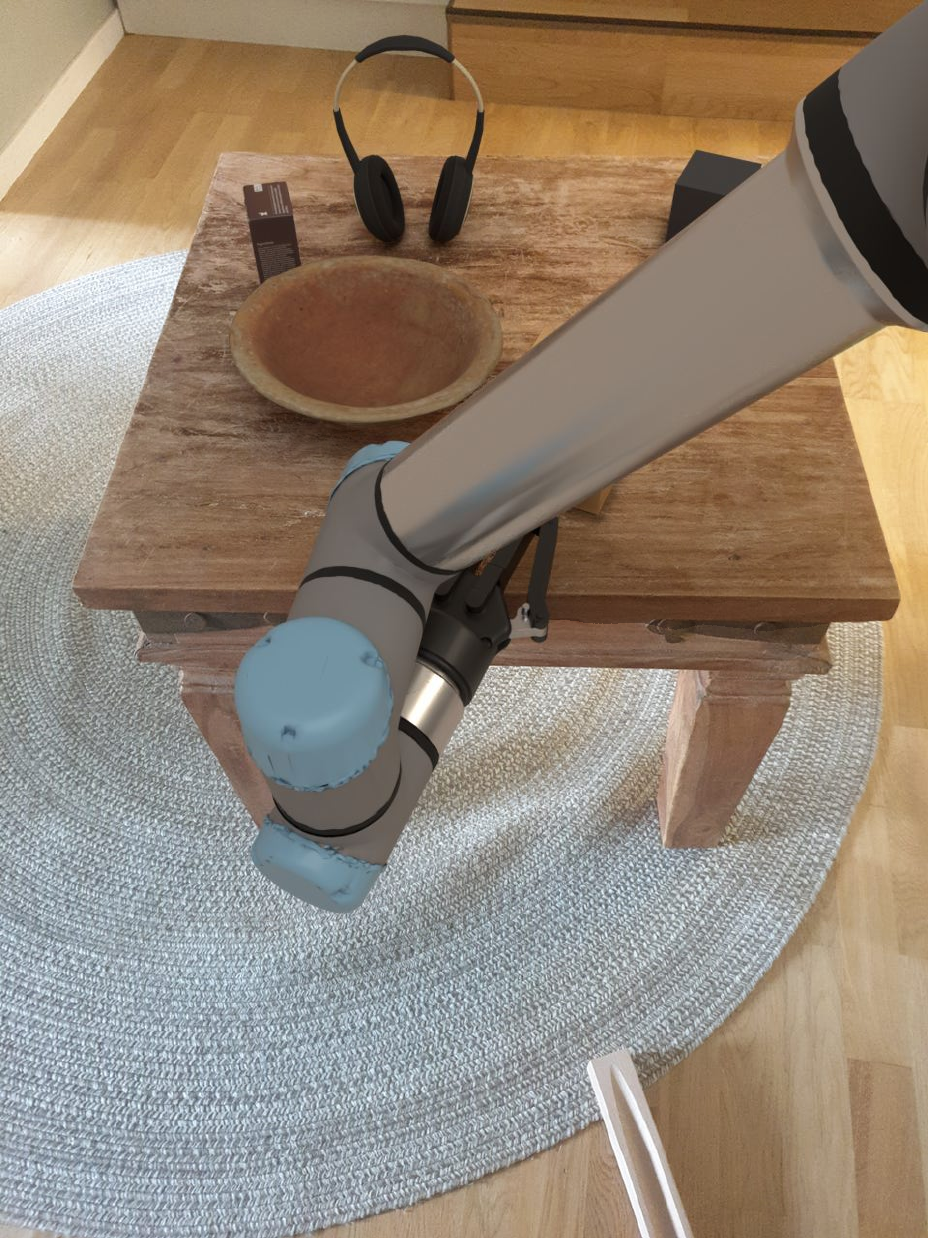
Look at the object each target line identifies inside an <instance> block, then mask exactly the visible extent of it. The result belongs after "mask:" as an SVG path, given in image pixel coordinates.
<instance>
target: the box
mask: <svg viewBox="0 0 928 1238" xmlns="http://www.w3.org/2000/svg"><path fill="white" fill-rule="evenodd" d="M242 194H243V198H244V199H243V203H244V206H245V212H246V217H247V223H248V227H249V233H250V238H251V240H250V241H251V244H252V249H253V255H254V260H255V265H256V268H257V269H256V270H257V274H258V280H259V286H260V285H261V284H262V283H263V282H264V281H266V280H267V279H268V278H270V277H273V276H277V275H279V274H281V273H283V272H285V271H288V270H290V269H292V268H295V267H298V266H301V265H302V261H301V255H300V249H299V243H298V237H297V231H296V230H297V229H296V223H295V218H294V211H293V209H294V208H293V204H292V201H291V196H290V191H289V187H288V183H287V181H285V180H284V181H273V182H272V181H271V182H263V183H254V184H247V185H246V184H245V185H243V186H242Z"/></svg>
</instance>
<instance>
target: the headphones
mask: <svg viewBox="0 0 928 1238" xmlns="http://www.w3.org/2000/svg"><path fill="white" fill-rule="evenodd" d="M386 52H420V53H421V52H422V53H425V54H428V55H432V56H435V57H437V58H440V59H441V60H444V61H446V62H447V63H448V64H452V65H453V66H454V67H455V68H457V70H458V71H460V72H461V73H462V75H463V76H464V77H465V78H466V80H467V81H468V83H469V85H470V86H471V88H472V90H473V92H474V94H475V97H476V100H477V110H476V115H475V116H476V117H475V125H474V132H473V136H472V140H471V143H470V146H469V148H468V151H467V154H466V156H465V157H466V158H465V157H462V156H460V155H456V154H455V155H450V156H447V158H446V160H445V161H444V164H443V166H442V169H441V172H440V173H439V178H438V180H437V186H436V187H435V192H434V197H433V201H432V206H431V210H430V215H429V221H428V232H427V233H428V236H429V238H430V239H431V240H432V241H433V242H434V243H437V244H442V245H443V244H447V243H449V242H450V241H452V240H453V239H455V238H456V237H457V236H460V234H461V232H462V230H463V228H464V225H465V224H466V223H465V222H466V220H467V217H468V213H469V211H470V207H471V204H472V203H471V202H472V198H473V193H474V187H475V184H474V183H475V174H474V170H475V169H474V168H475V165H476V161H477V158H478V155H479V151H480V147H481V143H482V139H483V135H484V127H485V113H486V112H485V111H486V110H485V109H484V102H483V97H482V94H481V92H480V89H479V86H478V85H477V83H476V81H475V79H474V78H473V76H472V75H471V73H470V72H469V71H468V70H467V68H466V67H464V65H462V63H460V61H458V60H457V59H456V56H455V55H454V54H452V52H450V51H449V50H448V49H447V48H445V47H444V46H442V45H441V44H439V43H436V42H434V41H432V40H430V39H428V38H426V37H422V36H417V35H410V34H400V35H399V34H398V35H391V36H387V37H383V38H380V39H377V40H376V41H373V42H372V43H369V44H368V45H366V46H365V47H364V48H363V49H362V50H360V52H358V53H357V54H356V55H355V56H354V59H353V60H352V61H351V62H350V64H349V65H348V66H347V67H346V68H345V70H344V71H343V73H342V74H341V76H340V77H339V80H338V82H337V85H336V87H335V92H334V96H333V109H332V114H333V118H334V123H335V127H336V128H335V129H336V132H337V135H338V137H339V140H340V143H341V146H342V148H343V151H344V154H345V156H346V158H347V161H348V163H349V166H350V168H351V170H352V172H353V176H352V183H351V184H352V194H353V199H354V203H355V206H356V211H357V213H358V216H359V218H360V220H361V223H362V224H363V227H364V228H365V230H366V231H367V232H368V233H369V234H370V235H372V236H373V237H374V238H376V239H377V240H378V241H380V242H382V243H383V244H391V243H394V242H397V241H399V239H401V238H402V237H403V235H404V232H405V230H406V215H405V208H404V202H403V197H402V195H401V190H400V188H399V185H398V182H397V179H396V176H395V174H394V172H393V171H392V168H391V167H390V164H389V163H388V162H387V161H386V159H385V158H383V157H382V156H381V155H378V154H370V155H367V156H364V157H363V158H361V159H360V158H359V156H358V153H357V152H356V149H355V147H354V145H353V144H352V141H351V139H350V137H349V135H348V131H347V129H346V126H345V123H344V118H343V113H342V109H341V107H340V104H339V103H340V102H339V100H340V95H341V90H342V87H343V85H344V83H345V81H346V79H347V78H348V75H349V74H350V73H351V72H352V70H353V69H355V67H356V66H358V64H362V63H363V62H364V61H365V60H368V59H369V58H371V57H374V56H376V55H380V54H383V53H386Z"/></svg>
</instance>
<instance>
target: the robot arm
mask: <svg viewBox="0 0 928 1238" xmlns="http://www.w3.org/2000/svg"><path fill="white" fill-rule="evenodd" d="M887 327H900V328H904V329H908V330H913V331H918V332H922V333H928V0H923V1H922V2H921V3H919V4H918V5H917V6H916V7H914V8H913V9H912V10H910V11H909V12H908V13H906V14H905V15H904V16H902V17H901V18H899V20H897V21H896V22H895V23H894V24H892V25H891V26H889V27H888V28H887V29H886V30H884V31H883V32H882V33H880V34H879V35H877V36H876V37H875V38H874V39H872V40H871V41H870V42H869V43H868V44H866V45H865V46H864V47H863V48H862V49H860V51H858V53H856V54H855V55H854V56H852V57H851V58H850V59H849V60H848V61H847V62H845V63H844V64H843V65H842V66H840V67H839V68H838V69H836V70H835V71H834V72H832V73H831V74H830V75H829V76H828V77H827V78H826V79H824V80H823V81H822V82H821V83H819V84H818V85H817V86H815V87H814V88H813V89H812V90H811V91H810V92H808V93H807V94H806V95H805V96H803V98H801V99H800V101H798V103H797V105H796V108H795V111H794V116H793V122H792V126H791V131H790V137H789V139H788V143H787V144H786V147H785V149H783V150H782V151H781V152H780V153H778V154H777V155H776V156H774V157H773V158H771V160H769V161H768V162H767V163H766V164H764V165H762V166H761V169H759V170H758V171H757V172H756V173H754V174H753V175H752V176H750V177H749V178H748V179H747V180H745V181H744V182H743V183H742V184H740V185H739V186H738V187H736V188H735V189H734V190H733V191H731V192H730V193H729V194H728V195H726V196H725V197H724V198H722V199H721V200H720V201H719V202H717V203H716V204H715V205H714V206H712V207H711V208H710V209H708V210H707V211H706V212H705V213H703V214H702V215H701V216H700V217H698V218H697V219H696V220H694V221H693V222H692V223H691V224H689V225H688V226H687V227H686V228H684V229H683V230H682V231H680V232H679V233H678V234H677V235H675V236H674V237H673V238H672V239H670V240H669V241H668V242H666V243H665V242H664V244H663V245H661V246H660V247H658V248H657V249H656V250H655V251H653V252H652V253H651V254H650V255H648V257H646V258H645V259H643V260H642V261H641V262H640V263H638V264H637V265H636V266H635V267H633V268H632V269H630V271H628V272H627V273H625V274H624V275H623V276H622V277H620V279H618V280H617V281H615V282H614V283H613V284H612V285H611V286H609V287H608V288H607V289H605V290H604V291H603V292H601V293H600V294H599V295H597V296H596V297H595V298H594V299H592V300H591V301H590V302H588V303H587V304H586V305H585V306H584V307H582V308H581V309H580V310H579V311H577V312H576V313H574V315H572V316H571V317H570V318H568V319H567V320H566V321H565V322H563V323H562V324H561V325H560V326H558V327H557V328H556V330H554V331H553V332H552V333H551V334H549V335H548V336H547V337H546V338H544V339H543V340H542V341H540V342H539V343H538V344H537V345H535V346H534V347H533V348H532V349H531V348H530V349H529V350H527V351H526V352H525V353H524V354H523V355H521V356H520V357H519V358H518V359H516V360H515V361H514V362H513V363H511V364H509V366H507V367H506V368H505V369H504V370H502V371H501V372H499V373H498V374H497V375H496V376H495V377H494V378H492V379H490V380H489V381H488V382H487V383H486V384H485V385H482V386H481V388H478V389H477V390H476V391H475V392H474V393H472V394H471V395H470V396H468V397H467V398H466V399H464V400H463V402H462V403H460V404H459V405H458V406H456V407H455V408H454V409H453V410H451V411H450V412H449V413H448V414H446V415H445V416H444V417H442V418H441V419H440V420H438V421H437V422H436V423H435V424H433V425H432V426H431V427H430V428H429V429H427V430H426V431H424V432H423V433H422V434H421V435H420V436H418V437H417V438H416V439H414V440H413V441H411V442H407V441H402V440H387V441H386V442H385V443H379V444H375V443H370V444H368V445H366V446H364V447H362V448H361V449H359V450H357V452H355V453H354V454H353V455H352V456H351V458H350V459H349V460H348V462H347V463H346V465H345V467H344V470H343V472H342V473H341V475H340V477H339V479H338V481H337V483H336V484H335V485H334V486H333V489H332V490H331V492H330V494H329V499H328V502H327V504H326V506H325V507H326V508H325V514H324V516H323V519H322V523H321V525H320V527H319V531H318V534H317V537H316V539H315V541H314V545H313V547H312V550H311V553H310V555H309V558H308V561H307V565H306V567H305V569H304V572H303V576H302V579H301V581H300V584H299V587H298V589H297V592H296V594H295V596H294V599H293V602H292V604H291V607H290V609H289V612H288V615H287V618H286V620H285V622H282V623H280V624H277V625H276V626H274V627H272V628H271V629H269V630H268V631H267V633H266V634H265V635H264V636H263V637H261V638H260V639H259V640H258V641H257V642H256V643H255V644H254V645H253V646H251V647H250V648H249V649H247V650H246V652H245V653H244V655H243V656H242V659H241V661H240V663H239V665H238V667H237V670H236V673H235V678H234V684H233V700H234V707H235V710H236V714H237V716H238V719H239V722H240V726H241V727H240V732H241V734H242V736H243V738H244V746H245V748H246V750H247V753H248V754H249V756H250V757H251V759H252V761H253V762H254V764H255V765H256V767H257V768H258V769H259V771H260V772H261V775H262V777H263V779H264V782H265V783H266V785H267V787H268V789H269V792H270V793H271V797H272V801H273V803H274V804H273V805H274V806H273V808H272V809H271V810H270V812H269V813H266V814H265V816H264V817H263V819H262V825H261V827H260V829H259V831H258V832H257V835H256V837H255V838H254V841H253V843H252V845H251V849H250V858H251V861H252V863H253V865H254V867H255V868H256V869H257V870H258V872H260V874H262V875H263V876H264V877H265V878H266V879H267V880H269V881H270V882H271V883H272V884H274V885H275V886H277V887H278V888H280V889H281V890H283V891H284V892H286V893H288V894H289V895H291V896H292V897H294V898H296V899H299V900H300V901H302V902H305V903H306V904H308V905H310V906H313V907H315V908H317V909H319V910H323V911H326V912H329V913H333V914H340V915H341V914H343V915H344V914H349V913H352V912H354V911H356V910H358V909H359V908H360V907H361V906H362V905H363V903H364V902H365V901H366V898H367V896H368V895H369V893H370V892H371V890H372V889H373V887H374V885H375V884H376V883H377V881H378V879H379V878H380V876H381V874H382V873H384V872H385V871H386V870H387V868H388V865H389V864H388V861H389V858H390V856H391V854H393V853H392V852H393V850H394V849H395V847H396V845H397V843H398V841H399V839H400V837H401V835H402V834H403V831H404V829H405V827H406V826H407V824H408V822H409V820H410V818H411V816H412V814H413V812H414V810H415V808H416V806H417V804H418V802H419V800H420V798H421V796H422V795H423V793H424V791H425V789H426V787H427V785H428V783H429V781H430V780H431V777H432V776H433V773H434V772H435V769H436V767H437V765H438V763H439V761H440V759H441V757H442V756H443V754H444V753H445V750H446V748H447V746H448V744H449V743H450V741H451V739H452V737H453V735H454V733H455V732H456V730H457V728H458V726H459V724H460V722H461V721H462V719H463V717H464V714H465V708H466V707H467V706H469V705H470V703H472V700H473V699H474V696H475V695H476V693H477V691H478V689H479V687H480V686H481V683H482V681H483V680H484V678H485V675H486V674H487V672H488V670H489V668H490V666H491V664H492V662H493V660H494V658H495V657H496V656H497V655H498V654H499V653H501V652H502V651H503V650H505V649H506V648H507V647H508V646H509V645H510V644H511V642H512V640H515V639H522V638H530V639H531V640H532V641H533V642H534V643H537V644H541V643H544V642H545V641H546V640H547V639H548V635H549V625H550V612H549V609H548V605H547V601H546V599H547V594H548V590H549V584H550V579H551V573H552V569H553V568H552V567H553V563H554V558H555V557H554V556H555V553H556V548H557V543H558V532H559V521H560V520H559V517H558V516H560V515H562V514H564V513H565V512H567V511H568V510H570V509H573V508H575V507H574V506H576V505H577V504H579V503H581V502H583V501H584V500H586V499H588V498H590V497H591V496H593V495H595V494H597V493H598V492H600V491H602V490H603V489H605V488H607V487H609V486H610V485H612V484H613V485H614V484H616V483H618V482H619V481H621V480H623V479H625V478H626V477H628V476H629V475H631V474H633V473H635V472H636V471H638V470H640V469H641V468H642V469H643V468H644V467H645V466H647V465H649V464H651V463H652V462H654V461H656V460H658V459H659V458H661V457H662V456H665V455H666V454H668V453H669V452H672V451H673V450H676V449H677V448H679V447H680V446H682V445H684V444H685V443H687V442H689V441H691V440H692V439H694V438H695V437H697V436H700V435H701V434H703V433H704V432H706V431H708V430H710V429H712V428H713V427H715V426H717V425H719V424H720V423H722V422H723V421H726V420H727V419H729V418H731V417H732V416H734V415H736V414H738V413H739V412H742V411H743V410H744V409H746V408H748V407H750V406H752V405H753V404H755V403H756V402H758V401H761V400H762V399H764V398H765V397H767V396H769V395H771V394H772V393H774V392H776V391H778V390H779V389H782V388H783V387H784V386H786V385H788V384H790V383H791V382H794V381H795V380H796V379H798V378H800V377H802V376H803V375H805V374H807V373H809V372H810V371H812V370H814V369H816V368H817V367H820V366H821V365H823V364H824V363H826V362H828V361H829V360H831V359H834V358H836V356H838V355H840V354H842V353H844V352H845V351H847V350H849V349H851V348H852V347H854V346H856V345H857V344H859V343H861V342H863V341H865V340H866V339H868V338H870V337H871V336H874V335H875V334H877V333H878V332H880V331H882V330H884V329H886V328H887ZM534 537H537V538H538V539H537V544H536V547H535V548H536V549H535V553H534V558H533V563H532V567H531V573H530V576H529V583H528V587H527V596H526V598H527V599H526V602H524V603H523V604H522V605H520V606H519V607H518V608H517V610H516V611H517V612H516V616H515V617H514V618H512V619H511V617H510V614H509V611H508V607H507V603H506V599H505V596H504V593H505V590H506V588H507V586H508V584H509V582H510V580H511V579H512V577H513V575H514V573H515V571H516V569H517V568H518V566H519V564H520V562H521V561H522V559H523V557H524V555H525V553H526V551H527V550H528V548H529V546H530V544H531V543H532V541H533V539H534ZM494 553H495V554H494ZM492 554H494V555H493V557H492V559H491V560H490V562H487V563H486V565H485V567H484V568H483V570H482V572H481V573H480V574H476V572H477V571H478V569H479V567H480V566H481V564H482V561H483V560H484V559H485V558H487V557H490V555H492Z"/></svg>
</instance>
